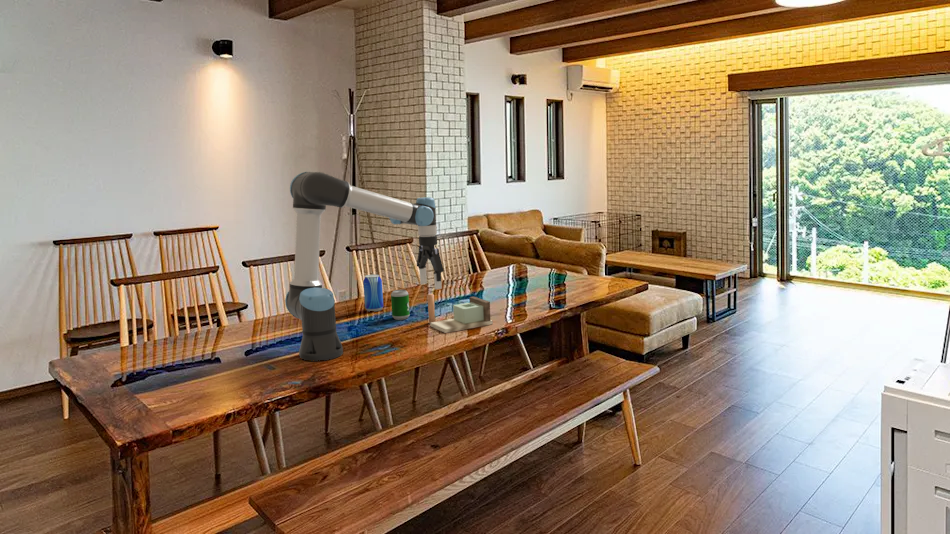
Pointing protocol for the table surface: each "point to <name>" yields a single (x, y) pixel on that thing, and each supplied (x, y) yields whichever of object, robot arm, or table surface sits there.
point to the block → (468, 312)
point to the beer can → (373, 293)
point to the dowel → (431, 308)
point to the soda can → (400, 304)
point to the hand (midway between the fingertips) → (430, 286)
